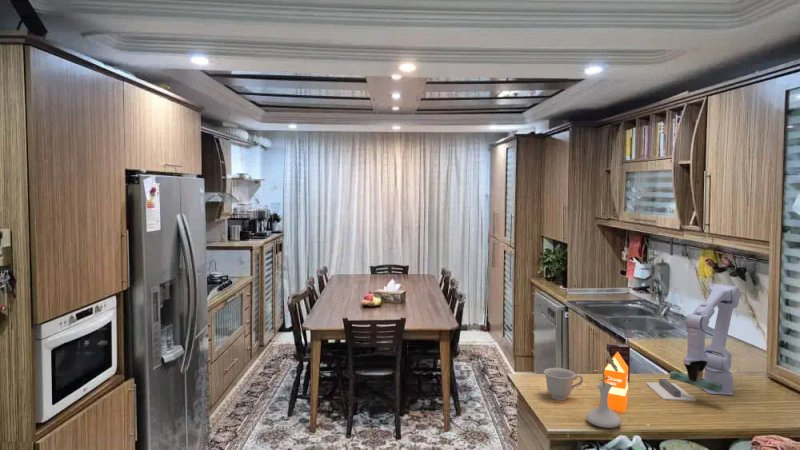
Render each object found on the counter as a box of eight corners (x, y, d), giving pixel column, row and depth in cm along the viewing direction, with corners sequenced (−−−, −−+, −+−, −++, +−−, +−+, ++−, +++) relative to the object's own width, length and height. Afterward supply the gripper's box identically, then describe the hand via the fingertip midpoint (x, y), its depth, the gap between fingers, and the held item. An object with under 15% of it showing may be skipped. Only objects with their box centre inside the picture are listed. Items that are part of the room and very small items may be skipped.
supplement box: (625, 379, 220) (626, 343, 219) (629, 383, 215) (630, 346, 215) (605, 378, 221) (606, 343, 220) (608, 382, 216) (609, 346, 215)
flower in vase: (619, 434, 168) (621, 360, 166) (583, 426, 173) (585, 354, 172) (623, 419, 179) (625, 350, 178) (589, 412, 184) (591, 345, 183)
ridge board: (674, 384, 214) (675, 377, 214) (695, 401, 196) (696, 393, 196) (645, 383, 215) (645, 376, 215) (663, 399, 197) (663, 392, 197)
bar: (669, 378, 203) (670, 365, 203) (673, 377, 205) (674, 363, 204) (718, 392, 188) (718, 377, 188) (721, 390, 190) (722, 376, 189)
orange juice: (627, 404, 193) (629, 352, 192) (624, 412, 185) (626, 358, 184) (605, 400, 197) (607, 349, 196) (602, 407, 189) (603, 355, 188)
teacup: (585, 405, 191) (585, 379, 191) (544, 402, 194) (545, 376, 194) (580, 393, 203) (580, 369, 203) (542, 390, 206) (542, 366, 206)
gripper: (697, 350, 188) (696, 386, 189) (716, 344, 196) (714, 379, 197) (678, 346, 194) (677, 380, 195) (697, 340, 202) (696, 373, 203)
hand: (694, 379), depth 196 cm, fingers closed on bar, 3 cm apart
